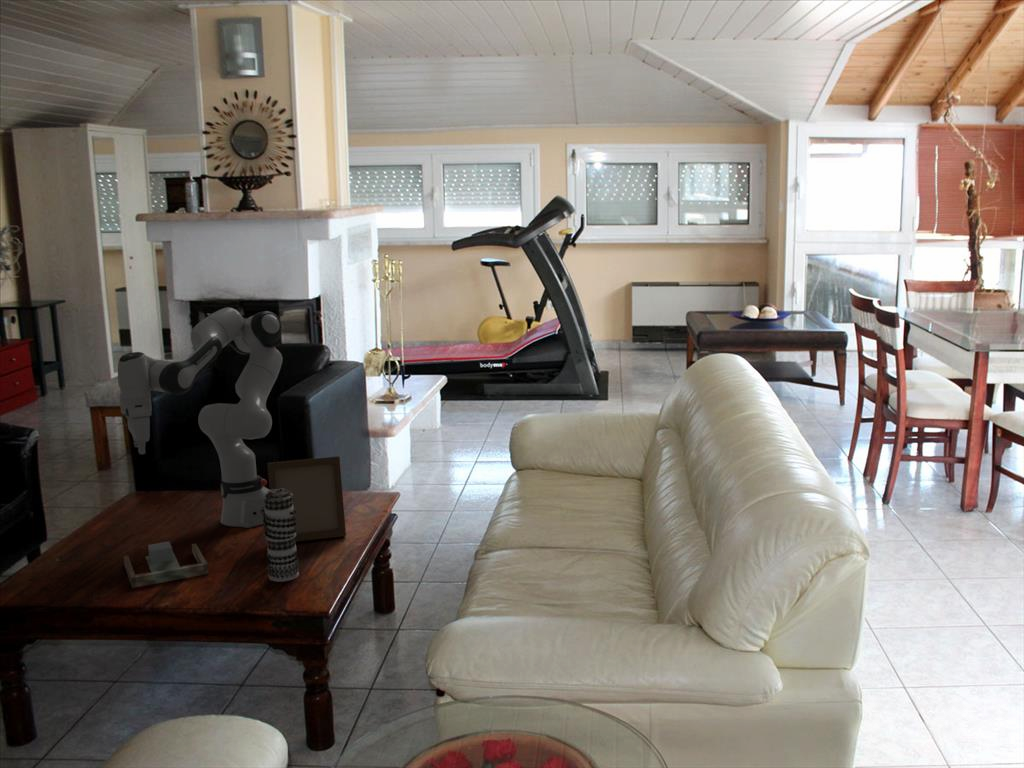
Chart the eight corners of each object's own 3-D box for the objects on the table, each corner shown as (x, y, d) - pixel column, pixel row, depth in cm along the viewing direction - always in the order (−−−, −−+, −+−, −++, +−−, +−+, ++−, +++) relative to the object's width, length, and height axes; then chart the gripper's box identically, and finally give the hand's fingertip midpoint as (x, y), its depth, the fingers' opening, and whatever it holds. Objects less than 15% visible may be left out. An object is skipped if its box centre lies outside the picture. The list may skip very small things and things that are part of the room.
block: (170, 553, 298) (169, 541, 297) (173, 560, 293) (172, 547, 292) (149, 557, 296) (148, 544, 295) (151, 564, 290) (150, 551, 290)
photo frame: (346, 538, 308) (341, 460, 303) (274, 547, 302) (268, 467, 297) (341, 524, 322) (336, 449, 317) (272, 532, 316) (266, 456, 312)
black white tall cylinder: (286, 567, 286) (280, 483, 281) (307, 574, 280) (301, 489, 275) (260, 577, 279) (253, 491, 274) (281, 584, 273) (274, 497, 268)
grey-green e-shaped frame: (194, 548, 303) (193, 539, 302) (208, 574, 282) (207, 564, 282) (123, 560, 294) (122, 551, 293) (132, 588, 273) (131, 578, 273)
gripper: (120, 401, 309) (124, 444, 312) (129, 413, 291) (133, 459, 294) (141, 398, 312) (145, 441, 315) (152, 411, 294) (155, 456, 297)
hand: (139, 450), depth 304 cm, fingers open, 8 cm apart
